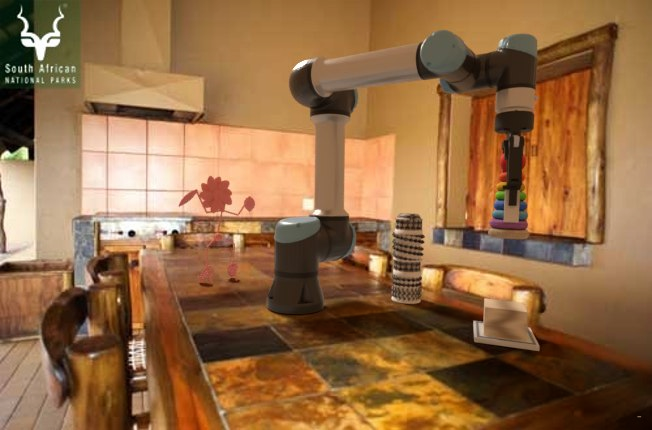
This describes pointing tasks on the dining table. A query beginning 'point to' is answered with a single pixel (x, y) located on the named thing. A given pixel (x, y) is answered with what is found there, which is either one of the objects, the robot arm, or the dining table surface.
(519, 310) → the birch block
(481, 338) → the board
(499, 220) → the stacking toy
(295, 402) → the dining table surface
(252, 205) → the figurine
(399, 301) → the decorative candle
